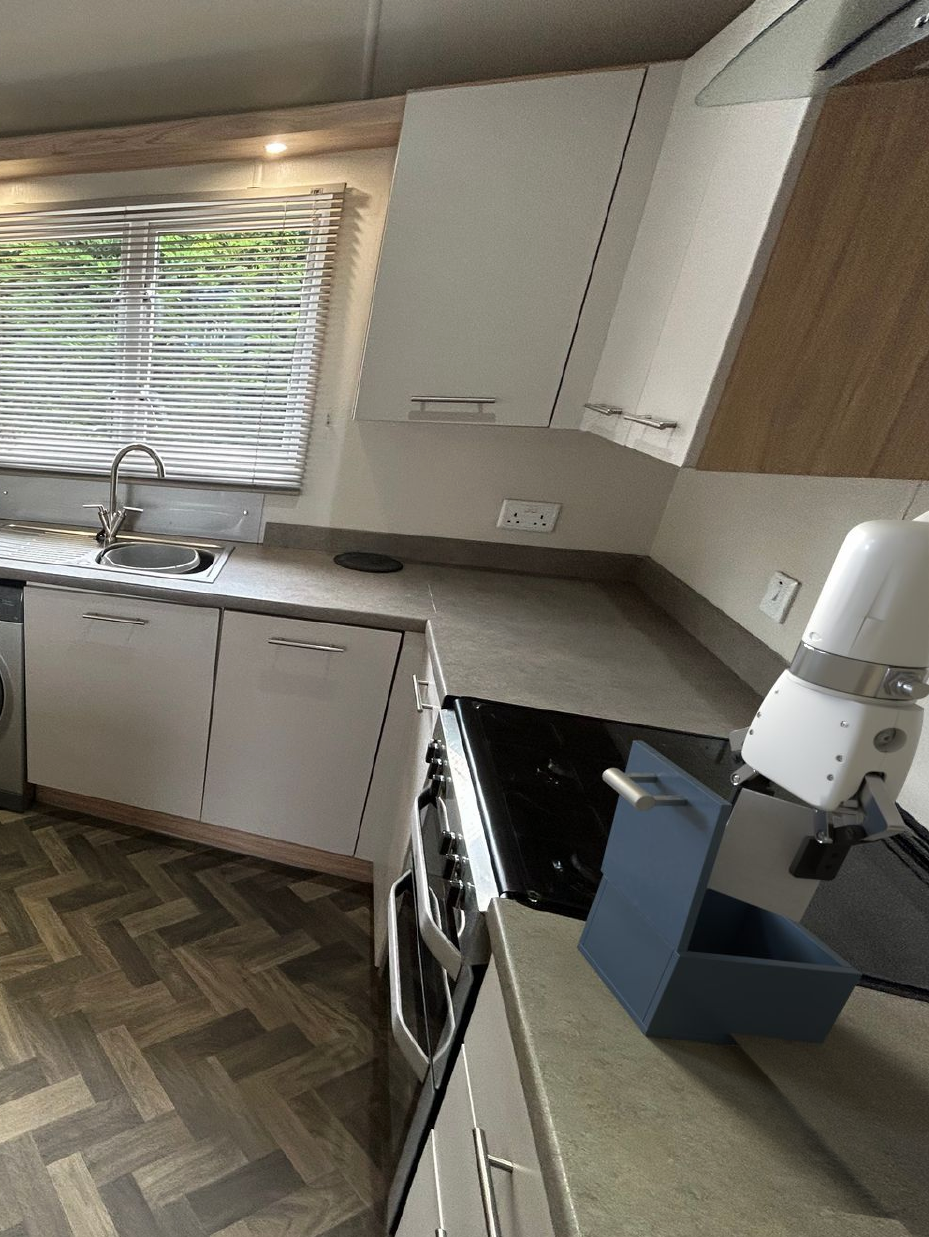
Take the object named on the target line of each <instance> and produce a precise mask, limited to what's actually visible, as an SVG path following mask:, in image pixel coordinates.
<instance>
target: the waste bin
mask: <svg viewBox="0 0 929 1237" xmlns="http://www.w3.org/2000/svg"><path fill="white" fill-rule="evenodd" d="M576 948H577V950H578V951H579V952H580V953H581V955H582V957H583V958H584V959H585V960H586V962H587V963H588V964H589V966H590V967H591V968H592V969H593V971H594V972H595V973H596V974H597V976H598V977H599V978H600V980H601V981H602V983H603V984H604V985H605V986H606V988H608V990H609V991H610V993H611V994H612V995H613V996H614V998H615V999H616V1000H617V1001H618V1003H619V1004H620V1005H621V1007H622V1008H623V1009H624V1010H625V1012H626V1013H627V1015H628V1016H629V1017H630V1018H631V1019H632V1021H633V1023H635V1025H636V1026H637V1028H638V1029H639V1030H640V1031H641V1032H642V1034H643V1035H644V1036H645V1037H653V1038H661V1039H670V1040H678V1041H679V1040H680V1041H687V1042H697V1043H705V1044H712V1045H723V1046H730V1047H740V1048H741V1047H742V1046H741V1044H739V1042H738V1041H737V1040H736V1039H735V1038H734V1037H733V1036H732V1034H735V1035H744V1036H752V1037H760V1038H761V1037H762V1038H768V1039H769V1038H770V1039H779V1040H787V1041H795V1042H797V1041H798V1042H804V1043H805V1042H806V1043H814V1044H821V1045H823V1044H824V1043H825V1041H826V1039H827V1038H828V1036H829V1035H830V1032H831V1030H832V1029H833V1027H834V1025H835V1023H836V1022H837V1020H838V1018H839V1016H840V1014H841V1013H842V1011H843V1009H844V1008H845V1006H846V1004H847V1002H848V1001H849V998H850V997H851V994H852V993H853V991H854V990H855V988H856V986H857V985H858V983H859V981H860V979H861V977H862V973H861V972H859V971H858V970H857V969H856V968H854V966H852V965H851V964H850V963H849V962H848V961H846V960H845V959H844V958H842V956H841V955H839V954H838V953H837V952H835V951H834V950H833V949H832V948H830V947H829V946H828V945H827V944H826V943H824V942H823V940H821V939H820V938H819V937H817V935H814V933H813V932H812V931H810V930H809V929H807V927H805V926H804V925H802V924H801V923H800V922H796V921H794V920H791V919H789V918H786V917H783V916H781V915H778V914H776V913H773V912H770V911H768V910H765V909H762V908H760V907H757V906H755V905H752V904H749V903H747V902H744V901H742V900H739V899H736V898H734V897H731V896H728V895H726V894H723V893H721V892H718V891H715V890H713V889H710V888H708V887H707V888H706V891H705V895H704V898H703V901H702V904H701V907H700V910H699V914H698V917H697V920H696V923H695V926H694V929H693V933H692V936H691V939H690V942H689V945H688V949H687V952H677V951H676V950H675V949H674V948H673V947H672V946H671V945H670V944H669V943H668V942H667V941H666V939H665V938H664V937H663V936H662V935H661V934H660V933H659V932H658V931H657V930H656V929H655V928H654V927H653V926H652V925H651V924H650V922H649V921H648V920H647V919H646V918H645V917H644V916H643V915H642V914H641V913H640V912H639V911H638V910H637V909H636V908H635V907H634V906H633V904H632V903H631V902H630V901H629V900H628V899H627V898H626V897H625V896H624V895H623V894H622V893H621V892H620V891H619V890H618V889H617V887H616V886H615V885H614V884H613V883H612V882H611V881H610V880H609V879H608V878H607V877H606V876H605V875H604V874H603V875H602V877H601V880H600V883H599V885H598V888H597V891H596V893H595V896H594V899H593V901H592V905H591V908H590V910H589V913H588V915H587V917H586V921H585V924H584V926H583V928H582V931H581V934H580V937H579V939H578V943H577V945H576Z"/></svg>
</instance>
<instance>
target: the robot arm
mask: <svg viewBox="0 0 929 1237" xmlns="http://www.w3.org/2000/svg"><path fill="white" fill-rule="evenodd" d="M826 578H827V579H826V581H825V583H824V586H823V588H822V590H821V592H820V595H819V597H818V599H817V602H816V604H815V606H814V608H813V611H812V613H811V615H810V618H809V620H808V622H807V625H806V627H805V629H804V632H803V634H802V637H801V639H800V641H799V643H798V646H797V648H796V651H795V653H794V655H793V658H792V660H791V662H790V664H789V667H788V668H785V669H784V671H783V672H782V673H781V674H780V676H779V677H778V678H777V680H776V681H775V683H774V684H773V686H772V687H771V689H770V690H769V692H768V693H767V695H766V696H765V698H764V699H763V702H762V703H761V705H760V707H759V708H758V710H757V712H756V714H755V716H754V717H753V720H752V722H751V724H750V726H748V727H744V728H739V729H734V730H732V731H730V732H729V734H728V740H729V744H730V745H729V746H730V750H731V755H730V761H731V766H732V768H733V769H732V770H733V772H732V773H731V775H730V779H729V780H730V783H731V784H732V785H734V786H732V789H731V791H730V794H729V796H728V798H727V800H726V801H727V802H729V803H730V804H732V809H731V812H730V815H729V818H730V816H731V813H732V811H733V809H734V807H735V804H736V802H737V800H738V797H739V795H740V793H741V790H742V788H745V789H748V790H751V791H755V792H758V793H761V794H765V795H768V796H771V797H774V798H775V793H776V791H775V790H773V789H771V788H770V787H772V786H774V785H775V784H776V785H777V786H779V787H781V788H782V789H784V790H785V791H787V792H789V793H790V794H792V795H793V796H795V797H797V798H798V799H800V800H801V801H803V802H805V803H806V804H808V805H810V806H811V807H812V808H811V809H813V824H814V836H805V837H804V838H803V840H802V842H801V844H800V846H799V848H798V850H797V852H796V855H795V857H794V859H793V861H792V863H791V865H790V867H789V869H788V870H789V873H790V874H791V875H792V876H794V877H795V878H802V879H813V880H821V881H826V882H831V881H833V880H835V878H836V877H837V876H838V873H839V871H840V869H841V867H842V865H843V864H844V861H845V860H846V858H847V856H848V854H849V852H850V850H851V848H852V847H862V846H863V845H865V844H871V843H876V842H879V841H881V840H882V839H886V838H889V837H893V836H896V835H898V834H903V833H904V832H905V831H906V824H905V822H904V820H903V818H902V815H901V814H900V812H899V810H898V808H897V806H896V802H897V800H898V797H899V795H900V793H901V791H902V789H903V787H904V784H905V782H906V779H907V777H908V775H909V772H910V770H911V767H912V765H913V761H914V759H915V755H916V753H917V750H918V746H919V744H920V743H919V742H920V739H921V736H922V730H923V724H924V716H925V708H924V707H923V706H921V705H919V704H917V703H918V702H917V701H918V700H922V699H924V698H926V697H928V696H929V684H928V683H927V682H928V680H929V510H928V511H926V512H924V513H922V514H920V515H919V516H917V517H916V518H914V519H912V520H909V519H872V520H867V521H864V522H862V523H859V524H857V525H855V526H854V527H852V529H851V530H850V531H848V533H847V534H846V537H845V538H844V540H843V542H842V544H841V546H840V549H839V551H838V553H837V556H836V558H835V560H834V562H833V564H832V567H831V569H830V572H829V573H828V576H827V577H826ZM841 803H842V805H841ZM864 813H866V814H865V815H866V819H865V820H864ZM834 814H841V818H842V824H843V826H841V827H836V828H834V818H833V815H834ZM729 818H728V820H729ZM727 823H728V822H727Z"/></svg>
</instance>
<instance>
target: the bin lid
mask: <svg viewBox="0 0 929 1237" xmlns="http://www.w3.org/2000/svg"><path fill="white" fill-rule="evenodd" d="M602 780H603V781H604V782H605V783H606V784H608V785H609V787H611V788H612V789H613V790H614V791H616V793H618V794H619V796H618V799H617V803H616V807H615V811H614V816H613V820H612V824H611V827H610V832H609V835H608V839H607V844H606V848H605V852H604V856H603V859H602V864H601V868H600V872H601V873H602V874H603V875H605V876H606V877H607V878H608V879H609V880H610V881H611V882H612V883H613V884H614V885H615V886H616V887H617V889H618V890H619V891H620V892H621V893H622V894H623V895H624V896H625V897H626V898H627V899H628V900H629V901H630V902H631V903H632V904H633V906H634V907H635V908H636V909H637V910H638V911H639V912H640V913H641V914H642V915H643V916H644V917H645V918H646V919H647V920H648V921H649V922H650V924H651V925H652V926H653V927H654V928H655V929H656V930H657V931H658V932H659V933H660V934H661V935H662V936H663V937H664V938H665V939H666V941H667V942H668V943H669V944H670V945H671V946H672V947H673V948H674V949H675V950H676V951H677V952H687V949H688V945H689V942H690V939H691V936H692V933H693V929H694V926H695V923H696V920H697V917H698V914H699V910H700V907H701V904H702V901H703V898H704V895H705V891H706V888H707V885H708V882H709V879H710V876H711V872H712V869H713V866H714V863H715V860H716V857H717V853H718V850H719V847H720V844H721V841H722V838H723V834H724V831H725V828H726V825H727V822H728V818H729V815H730V812H731V809H732V804H730V803H729V802H727V800H726V799H724V798H723V797H722V796H720V795H719V794H717V793H716V792H715V791H713V790H712V789H710V788H709V787H708V786H706V785H705V784H703V783H702V782H701V781H700V780H698V779H697V778H695V777H694V776H692V775H691V774H690V773H689V772H687V771H686V770H684V769H683V768H682V767H680V766H679V765H677V764H676V763H675V762H674V761H673V762H672V760H670V759H669V758H667V757H666V756H664V755H663V754H662V753H660V752H659V751H657V749H655V748H653V747H652V746H651V745H649V744H648V743H646V742H645V741H643V740H641V739H640V740H639V739H637V740H636V739H635V740H632V744H631V747H630V751H629V755H628V759H627V764H626V767H625V771H624V772H623V771H621V769H619V768H616V767H610V768H608V769H606V770H605V771H603V773H602Z"/></svg>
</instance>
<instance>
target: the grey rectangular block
mask: <svg viewBox="0 0 929 1237" xmlns="http://www.w3.org/2000/svg"><path fill="white" fill-rule="evenodd" d="M833 818H834V828H836V827H841V826H843V824H842V816H841V817H840V816H837V815H835V814H833ZM805 836H814V824H813V808H811V807H808V806H804V805H801V804H798V803H794V802H790V801H787V800H784V799H781V798H778V797H775V796H774V797H771V796H768V795H765V794H761V793H758V792H755V791H751V790H748V789H745V788H742V790H741V793H740V795H739V797H738V800H737V802H736V804H735V807H734V809H733V811H732V813H731V816H730V818H729V820H728V823H727V825H726V828H725V831H724V834H723V838H722V841H721V844H720V847H719V850H718V853H717V857H716V860H715V863H714V866H713V869H712V872H711V876H710V879H709V882H708V885H707V887H708V888H710V889H713V890H715V891H718V892H721V893H723V894H726V895H728V896H731V897H734V898H736V899H739V900H742V901H744V902H747V903H749V904H752V905H755V906H757V907H760V908H762V909H765V910H768V911H770V912H773V913H776V914H778V915H781V916H783V917H786V918H789V919H791V920H794V921H796V922H799V923H800V922H801V920H802V918H803V917H804V914H805V912H806V910H807V908H808V906H809V905H810V902H811V900H812V899H813V896H814V894H815V892H816V890H817V888H818V886H819V885H820V883H821V881H822V880H813V879H802V878H795V877H794V876H792V875H791V874H790V873H789V870H788V869H789V867H790V865H791V863H792V861H793V859H794V857H795V855H796V852H797V850H798V848H799V846H800V844H801V842H802V840H803V838H804V837H805Z"/></svg>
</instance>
